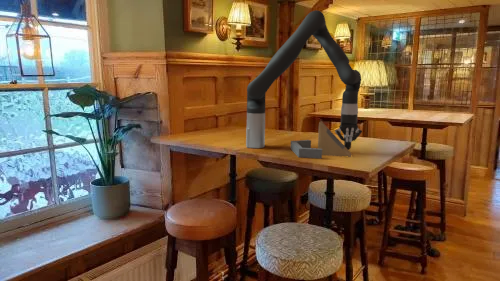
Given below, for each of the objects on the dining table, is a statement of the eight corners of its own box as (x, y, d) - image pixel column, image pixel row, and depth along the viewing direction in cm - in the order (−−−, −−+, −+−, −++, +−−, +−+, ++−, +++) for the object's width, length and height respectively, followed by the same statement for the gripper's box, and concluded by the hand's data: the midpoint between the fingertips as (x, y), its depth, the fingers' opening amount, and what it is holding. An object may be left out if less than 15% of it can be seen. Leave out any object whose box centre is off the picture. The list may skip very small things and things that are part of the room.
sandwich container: (351, 157, 162) (353, 124, 159) (317, 155, 166) (318, 122, 163) (352, 153, 170) (354, 122, 167) (319, 151, 174) (320, 120, 171)
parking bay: (299, 158, 157) (300, 149, 157) (289, 147, 181) (289, 139, 180) (323, 158, 158) (323, 149, 158) (309, 147, 182) (310, 139, 181)
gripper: (360, 112, 172) (357, 147, 175) (333, 112, 171) (331, 148, 174) (366, 113, 165) (364, 150, 168) (338, 114, 164) (336, 151, 167)
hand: (347, 149), depth 171 cm, fingers closed
